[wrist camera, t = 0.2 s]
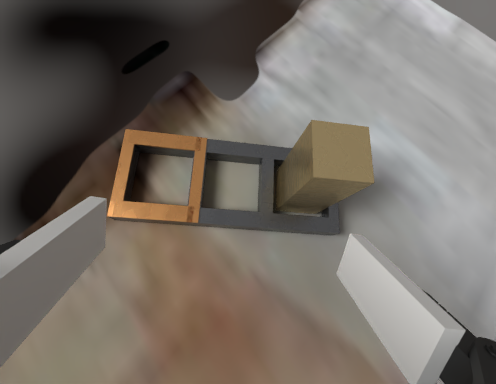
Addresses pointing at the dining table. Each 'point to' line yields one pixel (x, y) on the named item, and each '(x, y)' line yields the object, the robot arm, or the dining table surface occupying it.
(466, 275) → the dining table surface
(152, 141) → the rail
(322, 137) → the brass peg
